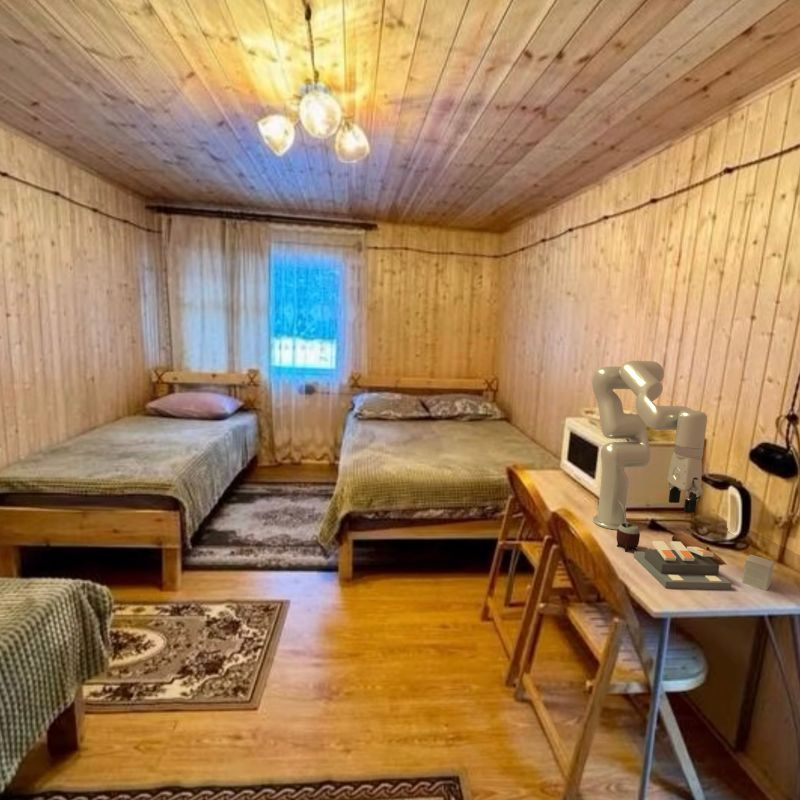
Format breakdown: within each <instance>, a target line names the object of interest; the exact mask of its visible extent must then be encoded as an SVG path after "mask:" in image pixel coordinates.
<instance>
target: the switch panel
mask: <svg viewBox="0 0 800 800" xmlns="http://www.w3.org/2000/svg"><path fill="white" fill-rule="evenodd" d="M644 550H645V551H633V558H634V559H635V560H636V561H637V563H639V564H640V565H641V566H642V567H643V568H644V569H645V570H646V571H647V572H648V573H649V574H650V575H651V576H652V577H653V578H654V579H655V580H656V581H657V582H659V583H660V585H662V586H663V588H664V589H689V590H691V589H693V590H731V589H732V588H731V587H732V582H730V581H729V580H728V579H727V578H726V577H724V576H723V575H722V574H720V573H719V572H720V565H718V564H716V563H715V562H714V561H712V560H711V559H710V558H708V557H707V556H704V557H697V556H696V553H693V552H691V551H689V550H688V551H689V552H690V553H691V554H692V556H693V557H694V558H695V559H694V561H683V560H682V559H681V557H680V556H678V555H677V552H676V551H675V550H674V549H670V550H671V552H672V553H673V554H674V555H675V557H676V561H671V560H664V558H663V557H662V556H660V554H659V552H658V551H657V549H656V548H655V549H653V548H652V549H649V548H645V549H644Z"/></svg>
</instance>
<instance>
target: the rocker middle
mask: <svg viewBox="0 0 800 800" xmlns="http://www.w3.org/2000/svg"><path fill="white" fill-rule="evenodd" d="M669 546H670V547H671V548H673V549H672V550H675V551H676V552H677V555H678V556H680V557H681V559H682V560H683V561H694V559H695V558H694V557H693V556H692V554H691V553H690V552H689V551H688V550H687V549H686V547H685V546H684V545H683V544H682V543H681V542H676V541H673V540H672V541H669Z"/></svg>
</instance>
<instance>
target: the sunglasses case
mask: <svg viewBox="0 0 800 800" xmlns="http://www.w3.org/2000/svg"><path fill="white" fill-rule="evenodd" d="M671 540H672V541H676V542H681V543H682V544H683V545H684V546H685V547H686V549H687V547H699V548H701V549H704V550H707V551H709V552H712V553H713V557H709V556H707V557H708V558H710V559H711V560H712V561H714V562H715V563H716V564H718V565H719V566H725V565H727V563H726V562H725V560H724V559H722V558H721V557H720V556H719V555H718V554H717V553H715V552H714V551H712V549H710V546H708V545H706V544H705V543H703V542H702V541H700V540H698V539H696V538H694V537H692V536H690V535H688V534H684V533H678V532H676V533H674V534H673V535H672V538H671Z"/></svg>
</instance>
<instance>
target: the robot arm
mask: <svg viewBox="0 0 800 800" xmlns="http://www.w3.org/2000/svg"><path fill="white" fill-rule="evenodd" d="M664 376H665V373H664V369H663V366H662V365H661V364H660V363H658V362H657V361H653V360H630V361H627V362H625V363H623V364H622V365H621V366H604V367H600V368H598V369H597V370H596V371H595V372H594V374H593V376H592V382H591V386H592V391H593V395H594V396H595V399H596V403H597V406H598V414H599V420H600V428H601V433H602V434H603V437H605V438H607V439H609V440H610V439H613V440H628V441H618V442H617V441H612V442H608V443H606V444H604V445H602V447H601V450H600V461H601V475H600V476H601V477H600V478H601V479H600V486H599V487H600V490H599V499H598V500H599V501H598V507H597V511H598V512H597V514H596V515H594V516H592V520H593V521H592V522H593V523H594V524H595V525H598V526H600V527H601V528H605V529H610V530H616V531H617V530H618V527H619V525H621V524H622V523H625V517H624V512H623V508H622V506H621V505H620V503H619V502H618V500H619V501H620V502H621V503H622V505H623V506H624V509H625V511H626V512H627V503H628V493H629V483H630V482H629V481H630V480H629V477H628V475H627V473H626V471H625V469H628V468H629V469H630V468H631V469H632V468H633V469H635V468H645V467H647V466H648V465H649V463H650V461H651V456H652V455H651V448H650V442H649V435H648V429H647V427H649V429H653V430H657V431H668V430H669V431H676V432H675V438H674V439H675V440H674V441H675V442H674V448H673V452H672V455H671V458H670V463H669V468H668V473H667V482H668V484H669V486H668V489H669V492H668V493H669V495H668V503H671V504H674V503H675V504H679V503H680V500H681V494H682V493H681V492H685V495H686V499H685V500H684V507H683V513H685V514H687V513H688V514H689V513H690V514H692V513H693V514H694V513H696V511H697V503H698V502H697V501H699V498H701V495H702V494H703V493H704V490H703V488H702V486H701V484H702V474H703V473H702V471H703V464H702V463H703V462H702V459H703V456H704V447H705V438H706V430H707V423H708V415H707V413H705V412H703V411H700V410H694V409H692V408H691V407H689V406H684V405H657V404H655V403H654V401H655V400H657V399H658V398H659V397H660V395H661V394H662V392H663V384H662V381H663V380H664ZM614 390H631V391H632V393H633V394H634V395H635V409H636V413H637V414H634V413H625V411H624V408H623V402H622V400H621V398H620V397H619V395H618V394H617V393H616V392H615V391H614ZM691 493H692V494H691ZM626 512H625V513H626ZM627 523H629V522H628V520H627Z"/></svg>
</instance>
